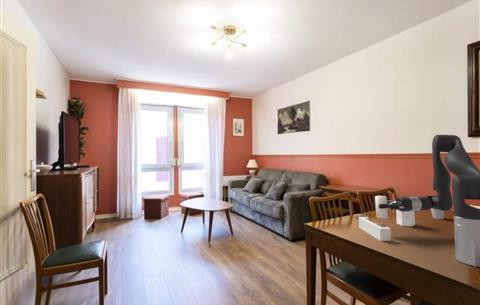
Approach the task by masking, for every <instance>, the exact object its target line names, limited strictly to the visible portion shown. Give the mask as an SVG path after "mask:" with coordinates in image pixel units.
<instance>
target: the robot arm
mask: <svg viewBox="0 0 480 305" xmlns="http://www.w3.org/2000/svg"><path fill="white" fill-rule="evenodd" d="M431 149H432V150H431V151H432V152H431V153H432V154H431V155H432V166H433V168H432V169H433V176H432V177H433V180H432V190H433V191H435V192H436V193H437V194H435V195H434V194H431V195H426V196H398V197H396V199H395V200H393V199H391V200H389V199H387V204H379V208H380V209H385V208H387V210H391V211H392V210H393V211H394V210H395V211H396V210H399V211H401V212H407V211H414V212H417V211H418V212H419V211H420V212H422V211H428V210H429V211H430V210H431V208H435V209H438V210H442V211H445V212H449V211H450V210H451V209H452V207H453V223H454V224H453V225H454V226H453V227H454V228H453V230H454V247H455V248H454V250H455V251H454V252H455V254H454V255H455V260H456V261H458V262H459V263H460V262H461V263H462V264H466V265H469V266H473V267H474V268H475V267H476V268H477V267H478V268H479V267H480V208H479V207H474V206H472V205H469V204H468V203H467V202H466V200H474V201H480V169H479V168H478V167H477V165H476V164H475V162H474V160H473V159H472V158H471V156H470V155H469V154H468V152H467V151H466V148H465V147H464V145H463V142H462V140H461V138H460V136H458V135H455V134H436V135H434V136H433V139H432V143H431ZM441 153H445V155H444V158H443V160H442V158H441ZM443 161H444V163H443ZM450 173H452V174H453V175H454V176H452V178H451V174H450ZM451 191H452V192H451ZM437 195H438V196H437ZM372 206H373V207H376V203H375V201H373V202H372Z"/></svg>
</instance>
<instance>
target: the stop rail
mask: <svg viewBox="0 0 480 305" xmlns="http://www.w3.org/2000/svg"><path fill="white" fill-rule="evenodd" d="M376 224H377V223H375V222H372V221H370V217H368V216H366V217H359V218H358V228H359V229H361V230H362V231H364V232H366V233H367V234H368V235H370V236H371V237H374V238H375V239H377V240H378V241H380V242H390V241H392V239H391V236H392V235H391V228H390V227H388V226H386V227H380V226H378V225H376Z"/></svg>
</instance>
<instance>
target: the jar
mask: <svg viewBox="0 0 480 305" xmlns="http://www.w3.org/2000/svg"><path fill="white" fill-rule="evenodd" d="M395 212H396V214H395V216H396V224H397V225H398V226H401V227H411V228H412V227H413V226H415V225H416V220H415V219H416V218H415V216H416V215H415V211H407V212H401V211H399V210H395Z"/></svg>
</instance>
